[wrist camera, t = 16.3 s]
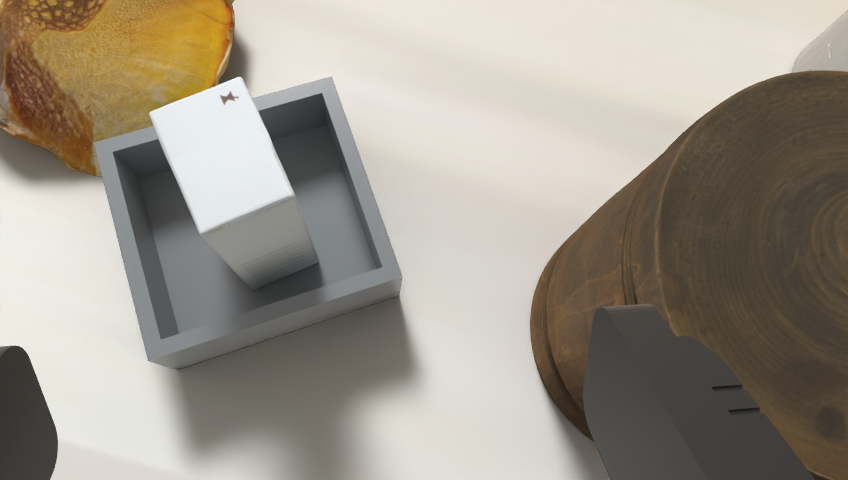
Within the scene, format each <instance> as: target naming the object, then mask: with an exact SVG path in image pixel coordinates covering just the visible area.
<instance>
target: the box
mask: <svg viewBox="0 0 848 480" xmlns="http://www.w3.org/2000/svg"><path fill="white" fill-rule="evenodd" d="M252 99H253V101H254V103H255V105H256V108H257V110H258V112H259V114H260V116H261V118H262V121H263V123H264V126H265V127H266V129H267V131H268V133H269V136H270V138H271V141H272V144H273V146H274V149H275V151H276V153H277V156H278V158H279V160H280V162H281V164H282V167H283V169H284V171H285V173H286V175H287V178H288V180H289V182H290V184H291V187H292V189H293V191H294V193H295V196H296V199H297V201H298V204H299V207H300V209H301V212H302V214H303V217H304V220H305V223H306V226H307V228H308V231H309V234H310V237H311V239H312V242H313V245H314V247H315V250H316V253H317V256H318V259H319V262H318V263H316V264H314V265H311V266H309V267H307V268H304V269H302V270H300V271H297V272H295V273H293V274H290V275H288V276H286V277H283V278H281V279H278V280H276V281H274V282H271V283H269V284H267V285H265V286H263V287H261V288H259V289H256V290H252V289H251V288H250V287H249V286H248V285H247V284H246V283H245V282H244V281H243V280H242V279H241V278H240V277H239V276H238V275H237V273H235V272H234V270H233V269H232V268H231V267H230V266H229V265H228V264H227V263H226V262H225V261H224V260H223V259H222V258H221V257H220V255H219V254H218V253H217V252H216V251H215V250H214V249H213V248H212V247H211V246H210V245H209V244H208V243H207V242H206V241H205V240H204V238H203V237H202V236H201V235H200V234H199V232H198V229H197V227H196V224H195V222H194V220H193V217H192V215H191V213H190V210H189V208H188V206H187V203H186V201H185V199H184V196H183V194H182V192H181V189H180V187H179V185H178V182H177V180H176V178H175V176H174V173H173V171H172V169H171V167H170V165H169V162H168V160H167V158H166V156H165V154H164V151H163V149H162V146H161V144H160V141H159V139H158V136H157V134H156V131H155V128H154V126H152V127H148V128H145V129H141V130H137V131H134V132H130V133H127V134H123V135H119V136H116V137H112V138H109V139H105V140H101V141H98V142H94V146H95V150H96V154H97V158H98V162H99V166H100V170H101V174H102V178H103V182H104V186H105V190H106V194H107V198H108V202H109V206H110V210H111V214H112V218H113V222H114V226H115V230H116V234H117V238H118V242H119V246H120V250H121V254H122V258H123V262H124V266H125V270H126V274H127V278H128V282H129V286H130V290H131V294H132V298H133V302H134V306H135V310H136V314H137V318H138V322H139V326H140V330H141V334H142V338H143V342H144V346H145V350H146V354H147V358H148V361H150V362H154V363H157V364H160V365H164V366H167V367H170V368H173V369H177V370H178V369H181V368H184V367H187V366H190V365H193V364H196V363H199V362H202V361H205V360H208V359H211V358H214V357H217V356H220V355H223V354H226V353H229V352H232V351H235V350H238V349H241V348H244V347H247V346H250V345H253V344H256V343H259V342H262V341H265V340H268V339H271V338H274V337H277V336H280V335H282V334H285V333H288V332H291V331H294V330H297V329H300V328H303V327H306V326H309V325H312V324H315V323H318V322H321V321H324V320H327V319H330V318H333V317H336V316H339V315H342V314H345V313H348V312H351V311H354V310H357V309H360V308H363V307H366V306H369V305H372V304H375V303H378V302H381V301H384V300H387V299H390V298H393V297H396V296H399V293H400V287H401V282H402V274H401V271H400V269H399V266H398V263H397V260H396V257H395V254H394V252H393V249H392V246H391V243H390V240H389V237H388V235H387V232H386V229H385V226H384V223H383V220H382V218H381V215H380V212H379V209H378V206H377V203H376V201H375V198H374V195H373V192H372V189H371V186H370V184H369V181H368V178H367V175H366V172H365V169H364V167H363V164H362V161H361V158H360V155H359V152H358V150H357V147H356V144H355V141H354V138H353V135H352V133H351V130H350V127H349V124H348V121H347V118H346V116H345V113H344V110H343V107H342V104H341V101H340V99H339V96H338V93H337V90H336V87H335V84H334V82H333V79H332V77H328V78H324V79H321V80H317V81H314V82H310V83H306V84H303V85H299V86H296V87H292V88H288V89H285V90H281V91H278V92H274V93H270V94H267V95H263V96H260V97H256V98H252Z"/></svg>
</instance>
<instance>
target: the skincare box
mask: <svg viewBox="0 0 848 480" xmlns="http://www.w3.org/2000/svg"><path fill="white" fill-rule="evenodd" d="M149 115H150V118H151V120H152V123H153V126H154V128H155V131H156V134H157V136H158V139H159V141H160V144H161V146H162V149H163V151H164V154H165V156H166V158H167V160H168V162H169V165H170V167H171V169H172V171H173V173H174V176H175V178H176V180H177V182H178V185H179V187H180V189H181V192H182V194H183V196H184V199H185V201H186V203H187V206H188V208H189V210H190V213H191V215H192V217H193V220H194V222H195V224H196V227H197V229H198V232H199V234H200V235H201V236H202V237H203V238H204V240H205V241H206V242H207V243H208V244H209V245H210V246H211V247H212V248H213V249H214V250H215V251H216V252H217V253H218V254H219V255H220V257H221V258H222V259H223V260H224V261H225V262H226V263H227V264H228V265H229V266H230V267H231V268H232V269H233V270H234V272H235V273H237V275H238V276H239V277H240V278H241V279H242V280H243V281H244V282H245V283H246V284H247V285H248V286H249V287H250V288H251V289H252V290H256V289H259V288H261V287H263V286H265V285H267V284H269V283H271V282H274V281H276V280H278V279H281V278H283V277H286V276H288V275H290V274H293V273H295V272H297V271H300V270H302V269H304V268H307V267H309V266H311V265H314V264H316V263H318V262H319V259H318V256H317V253H316V250H315V247H314V245H313V242H312V239H311V237H310V234H309V231H308V228H307V226H306V223H305V220H304V217H303V214H302V212H301V209H300V207H299V204H298V201H297V199H296V196H295V193H294V191H293V189H292V187H291V184H290V182H289V180H288V178H287V175H286V173H285V171H284V169H283V167H282V164H281V162H280V160H279V158H278V156H277V153H276V151H275V149H274V146H273V144H272V141H271V138H270V136H269V133H268V131H267V129H266V127H265V126H264V123H263V121H262V118H261V116H260V114H259V112H258V110H257V108H256V105H255V103H254V101H253V99H252V97H251V94H250V92H249V90H248V88H247V86H246V84H245V82H244V80H243V78H242V77H236V78H234V79H232V80H229V81H227V82H224V83H222V84H219V85H217V86H215V87H212V88H210V89H207V90H205V91H202V92H199V93H197V94H194V95H191V96H189V97H186V98H184V99H181V100H178V101H176V102H173V103H170V104H168V105H166V106H163V107H161V108H158V109H156V110H154V111H151V112H150V113H149Z"/></svg>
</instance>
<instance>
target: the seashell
mask: <svg viewBox="0 0 848 480" xmlns="http://www.w3.org/2000/svg"><path fill="white" fill-rule="evenodd" d="M233 2H234V0H0V128H1V129H2V130H4V131H5V132H7V133H8V134H10V135H11V136H13V137H15V138H18V139H21V140H24V141H26V142H29V143H32V144H35V145H37V146H40V147H42V148H45V149H48V150H49V151H51V152H52V153H53V154H54V155H55V156H56V157H57V158H59V159H60V160H61V161H63V162H64V163H65V164H66V165H67V166H68V167H69V168H70V169H71V170H74V171H79V172H84V173H89V174H92V175H95V176H102V174H101V170H100V166H99V162H98V158H97V154H96V150H95V146H94V142H98V141H101V140H105V139H109V138H112V137H116V136H119V135H123V134H127V133H130V132H134V131H137V130H141V129H145V128H148V127H152V126H153V123H152V120H151V118H150V115H149V113H150V112H151V111H154V110H156V109H158V108H161V107H163V106H166V105H168V104H170V103H173V102H176V101H178V100H181V99H184V98H186V97H189V96H191V95H194V94H197V93H199V92H202V91H205V90H207V89H210V88H212V87H215V86H217V85H219V80H220V78H221V76H222V75H223V74H224V72H225V70H226V68H227V66H228V62H229V59H230V55H231V49H232V43H233V36H234V26H235V17H234V10H233V6H232V3H233Z"/></svg>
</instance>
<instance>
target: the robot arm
mask: <svg viewBox="0 0 848 480" xmlns="http://www.w3.org/2000/svg"><path fill="white" fill-rule="evenodd" d="M817 70H832V71H845V72H848V10H847V11H846V12H845V13H844V14H843V15H842V16H840V17H839V18H838V19H837V20H836V21H835V22H834V23H833V24H832V25H830V26H829V27H828V28H827V29H826V30H825V31H824V32H823V33H821V34H820V35H819V36H818V37H817V38H816V39H815V40H814V41H812V42H811V43H810V44H809V45H808V46H807V47H806V48H805V49H804V50H803V51H802V52H801V53H800V55H799V57H798V58H797V60H796V62H795V64H794V68H793V71H792V73H795V72H803V71H817ZM583 402H584V410H585V416H586V420H587V424H588V427H589V430H590V432H591V435H592V437H593V439H594V442H595V444H596V446H597V448H598V451H599V453H600V455H601V458H602V460H603V462H604V464H605V467H606V469H607V471H608V474H609V476H610V478H611V480H815V479H814V477H813V476H812V475H811V473H810V472H809V471H808V469H807V468H806V467H805V466H804V464H803V463H802V462H801V460H800V459H799V458H798V456H797V455H796V454H795V452H794V451H793V450H792V449H791V447H790V446H789V445H788V443H787V442H786V441H785V439H784V438H783V437H782V436H781V434H780V433H779V432H778V430H777V429H776V428H775V426H774V425H773V424H772V422H771V421H770V420H769V419H768V417H767V416H766V415H765V413H762V414H761V412H760V407H759V406H758V404H757V403H756V402H755V400H754V399H753V398H752V396H751V395H750V394H749V393H748V391H747V390H743V388H742V383H741V382H740V381H739V379H738V378H737V377H736V376H735V374H734V373H733V372H732V370H731V369H730V368H729V366H728V365H727V364H726V363H725V361H724V360H723V359H722V357H720V356H719V355H717V354H716V353H714V352H713V351H712V350H710V349H709V348H707V347H706V346H704V345H703V344H702V343H700V342H699V341H697V340H696V339H694V338H693V337H692V336H678V337H676V336H675V335H674V333H673V332H672V330H671V329H670V327H669V326H668V325H667V323H666V322H665V320H664V319H663V318H662V316H661V315H660V313H659V312H658V310H657V309H656V308H655V307H654V306H653V305H651V304H637V305H623V306H608V307H599V308H598V309H597V310H596V312H595V314H594V318H593V323H592V330H591V337H590V344H589V351H588V358H587V365H586V372H585V379H584V387H583ZM57 449H58V439H57V432H56V428H55V425H54V422H53V419H52V417H51V414H50V411H49V409H48V406H47V403H46V401H45V398H44V395H43V393H42V390H41V387H40V385H39V382H38V379H37V377H36V374H35V371H34V369H33V366H32V364H31V361H30V359H29V356H28V354H27V353H26V351H25V350H24V349H23V348H21V347H19V346H3V347H0V480H50V478H51V476H52V473H53V471H54V468H55V464H56V459H57V451H58V450H57Z"/></svg>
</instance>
